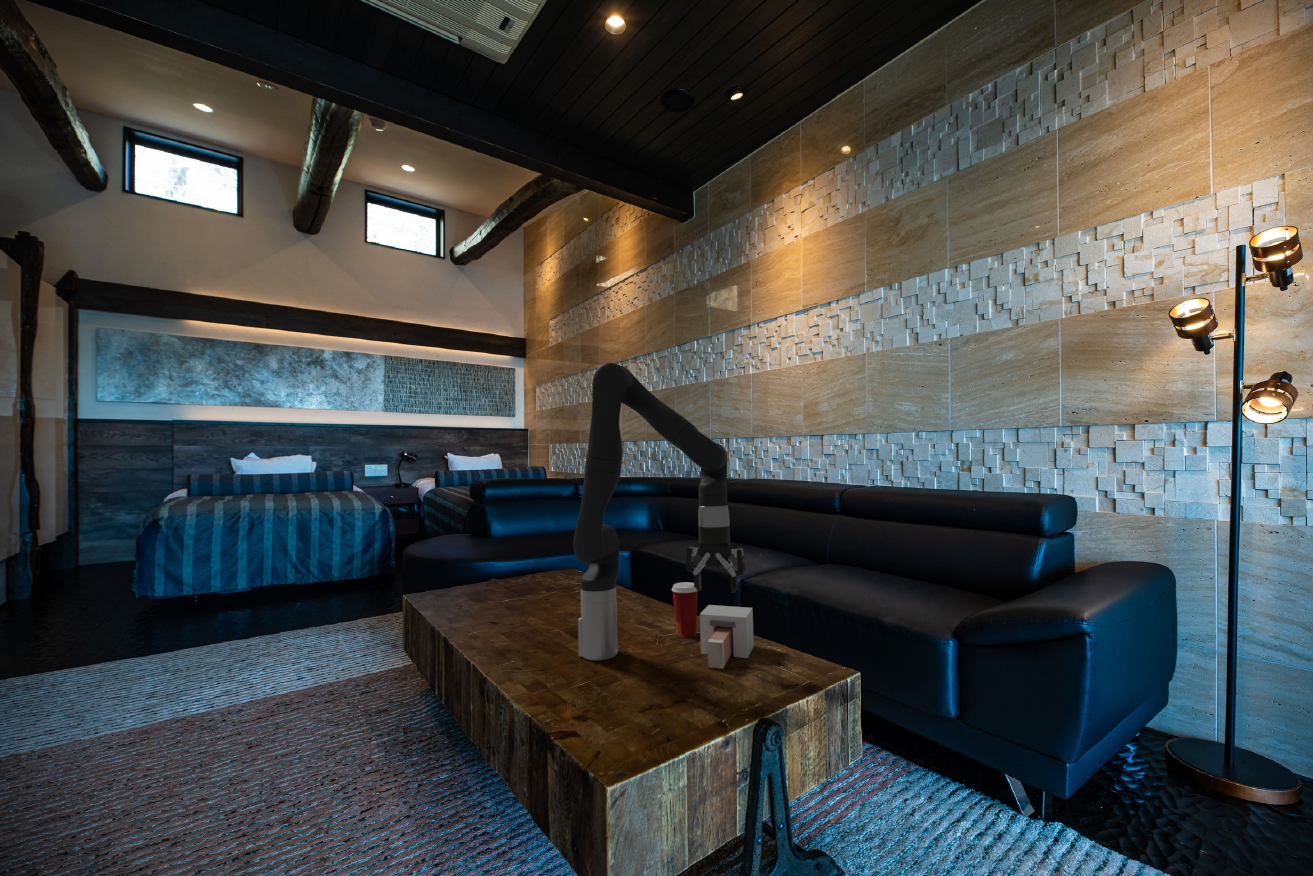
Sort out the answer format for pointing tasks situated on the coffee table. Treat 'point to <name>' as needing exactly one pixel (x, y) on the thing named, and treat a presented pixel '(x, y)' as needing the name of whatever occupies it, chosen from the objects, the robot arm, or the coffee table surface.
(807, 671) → the coffee table surface
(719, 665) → the pink white-banded pillar
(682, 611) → the paper cup
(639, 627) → the coffee table surface
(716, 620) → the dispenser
